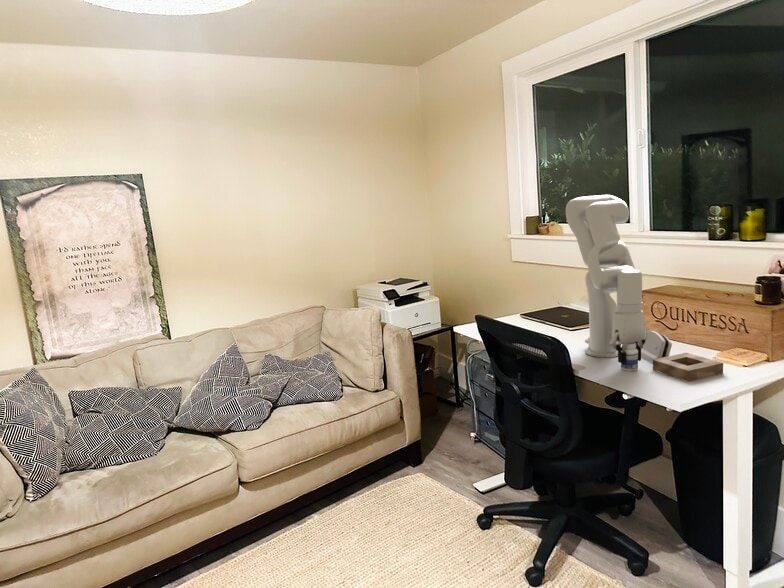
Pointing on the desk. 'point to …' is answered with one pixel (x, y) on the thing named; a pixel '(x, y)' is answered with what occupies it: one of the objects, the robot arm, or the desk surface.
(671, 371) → the socket block
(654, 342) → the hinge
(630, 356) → the pill bottle
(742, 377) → the desk surface
